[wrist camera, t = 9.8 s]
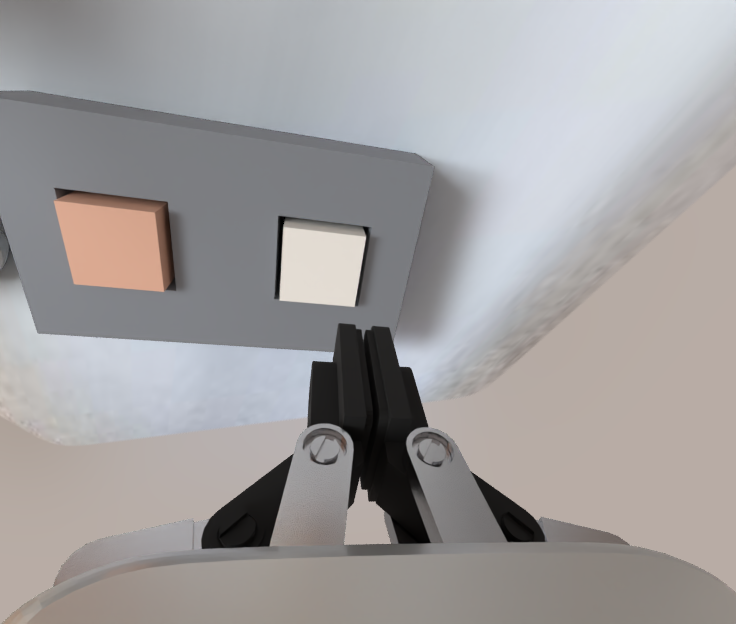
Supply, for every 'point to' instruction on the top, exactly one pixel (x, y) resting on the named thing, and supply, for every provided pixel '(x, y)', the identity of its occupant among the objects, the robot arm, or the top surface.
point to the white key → (321, 261)
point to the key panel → (203, 220)
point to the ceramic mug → (3, 249)
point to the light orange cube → (117, 240)
